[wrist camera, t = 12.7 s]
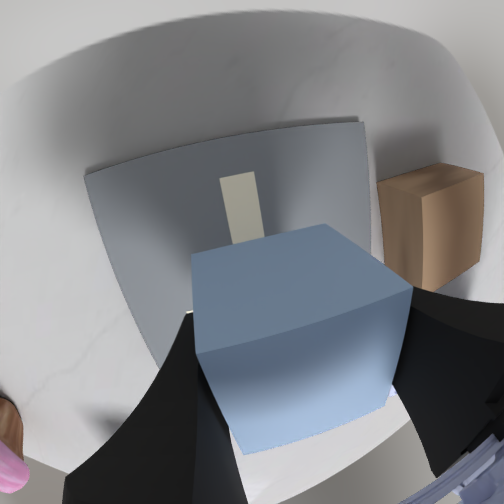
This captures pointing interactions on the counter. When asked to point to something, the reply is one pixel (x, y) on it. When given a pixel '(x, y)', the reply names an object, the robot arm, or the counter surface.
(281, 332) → the blue cube
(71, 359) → the counter surface
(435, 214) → the walnut block
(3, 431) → the cupcake
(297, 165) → the board
